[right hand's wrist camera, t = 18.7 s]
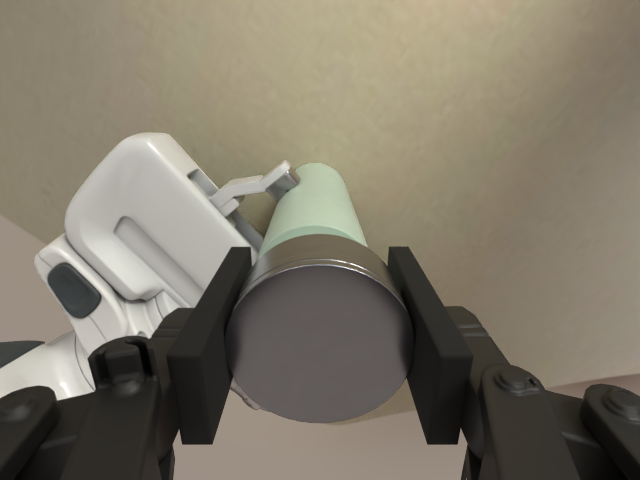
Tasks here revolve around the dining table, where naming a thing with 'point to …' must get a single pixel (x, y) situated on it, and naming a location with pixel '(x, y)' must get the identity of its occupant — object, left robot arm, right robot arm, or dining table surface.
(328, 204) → the green bottle
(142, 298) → the left robot arm
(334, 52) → the dining table surface
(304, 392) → the lid
